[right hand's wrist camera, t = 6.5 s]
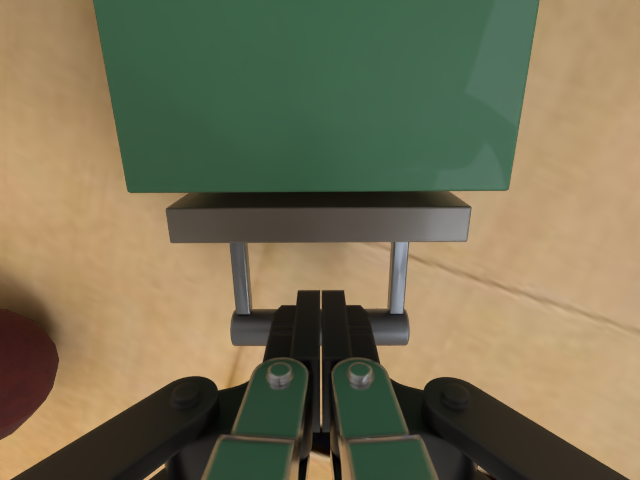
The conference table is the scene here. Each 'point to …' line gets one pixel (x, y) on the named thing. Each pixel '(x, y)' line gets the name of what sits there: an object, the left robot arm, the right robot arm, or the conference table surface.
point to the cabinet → (316, 93)
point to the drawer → (318, 239)
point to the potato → (23, 369)
